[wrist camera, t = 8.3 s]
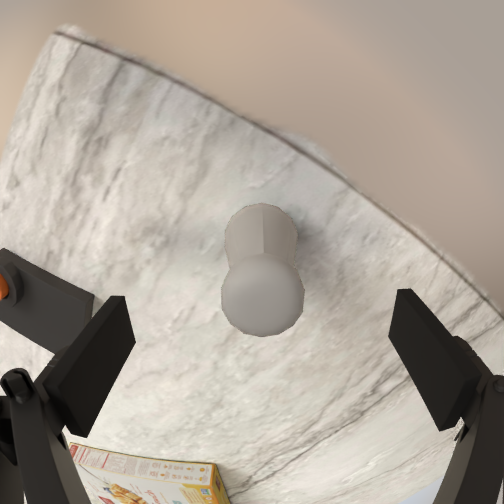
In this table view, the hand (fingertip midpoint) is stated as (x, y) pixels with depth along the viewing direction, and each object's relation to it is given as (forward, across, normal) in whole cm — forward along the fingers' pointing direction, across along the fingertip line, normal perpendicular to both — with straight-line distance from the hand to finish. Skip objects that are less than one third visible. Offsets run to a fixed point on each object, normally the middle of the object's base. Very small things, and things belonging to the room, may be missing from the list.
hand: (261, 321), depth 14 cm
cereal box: (+14, -21, -47) cm, 53 cm away
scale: (+14, -26, -8) cm, 30 cm away
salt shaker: (+14, 0, 0) cm, 14 cm away
